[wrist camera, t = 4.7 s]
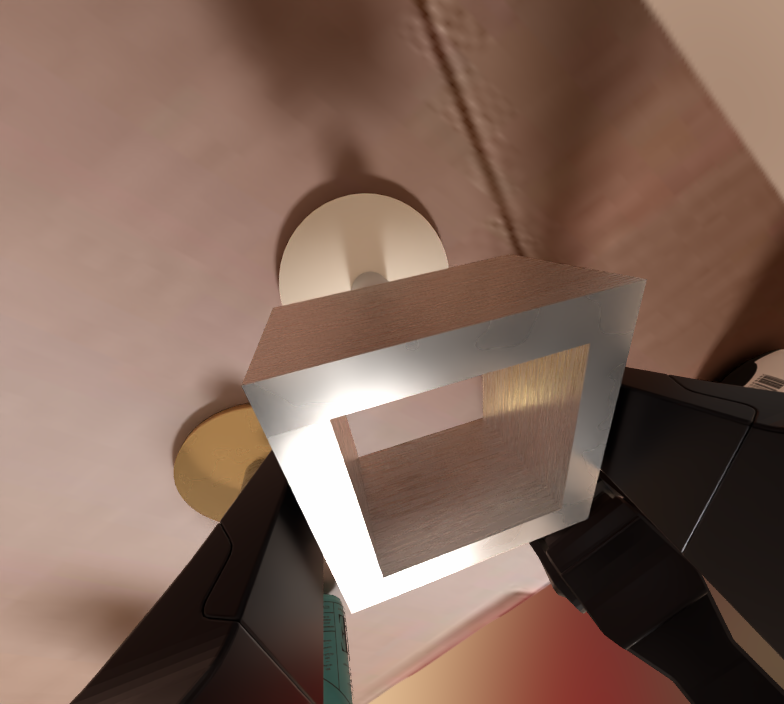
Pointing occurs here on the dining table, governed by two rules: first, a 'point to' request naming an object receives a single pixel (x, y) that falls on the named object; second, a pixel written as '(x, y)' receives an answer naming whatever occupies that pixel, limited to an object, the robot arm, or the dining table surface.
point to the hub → (220, 460)
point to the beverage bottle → (335, 653)
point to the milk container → (760, 372)
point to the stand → (357, 247)
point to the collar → (454, 445)
